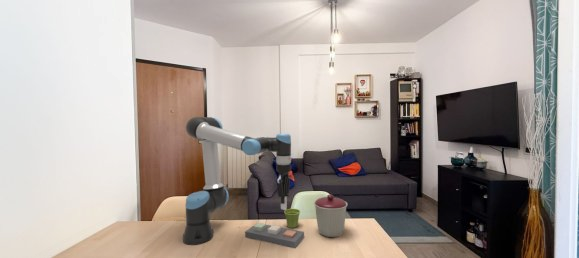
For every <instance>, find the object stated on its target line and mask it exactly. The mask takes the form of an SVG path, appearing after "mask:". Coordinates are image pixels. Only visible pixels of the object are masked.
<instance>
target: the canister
mask: <svg viewBox="0 0 579 258" xmlns="http://www.w3.org/2000/svg"><path fill="white" fill-rule="evenodd" d="M313 205H314V208H315V215H316V222H317V229H318V232H319V233H320V234H321V235H322V236H324V237H327V238H337V237H340V236H342V235H343V233H344V230H345V225H346V224H345V222H346V216H347V215H346V214H347V207H348V201H345V199H342V198H339V197H335V196H334V195H333V194H327V196H324V197H323V196H322V197H319V198H318V199H316V200H314V202H313Z"/></svg>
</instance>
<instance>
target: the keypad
mask: <svg viewBox="0 0 579 258" xmlns="http://www.w3.org/2000/svg"><path fill="white" fill-rule="evenodd" d="M256 224H257V223H255V224H254V225H256ZM254 225H252V226H251V227H249V228H248V229H247V230H245V231H244V237H245V238H248V239H253V240H256V241H261V242H266V243H269V244H270V243H271V244H275V245H279V246H284V247H288V248H291V249H292V248H293V249H296V248H297V247H298V245H299V244H300V243H301V242H302V240H303V239H304V238H305V231H302V230H297V229H293V228H286V227H281V231H280V232H279V233H278V234H277V235H275V234H270V233H268V228H270V227H271V226H272V225H270V224H266V229H264V230H263V231H262V232H260V231H255V230H253V226H254ZM287 230H291V231H296V235H295V236H294V237H293V238H290V237H285V236H283V234H284V233H285V232H286V231H287Z"/></svg>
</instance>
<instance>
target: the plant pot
mask: <svg viewBox="0 0 579 258" xmlns="http://www.w3.org/2000/svg"><path fill="white" fill-rule="evenodd" d="M283 212H284V215H285V220H286V227H288V229H295V228H297V227H298V226H299V218H300V217H299V216H300V215H301V210H300V209H297V208H287V209H286V210H283Z"/></svg>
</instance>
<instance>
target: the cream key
mask: <svg viewBox="0 0 579 258" xmlns="http://www.w3.org/2000/svg"><path fill="white" fill-rule="evenodd" d="M281 228H282V227H281V226H278V225H271V227H270V228H268V233H270V234H275V235H277V234H278V233H279V232H280V231H281Z"/></svg>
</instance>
